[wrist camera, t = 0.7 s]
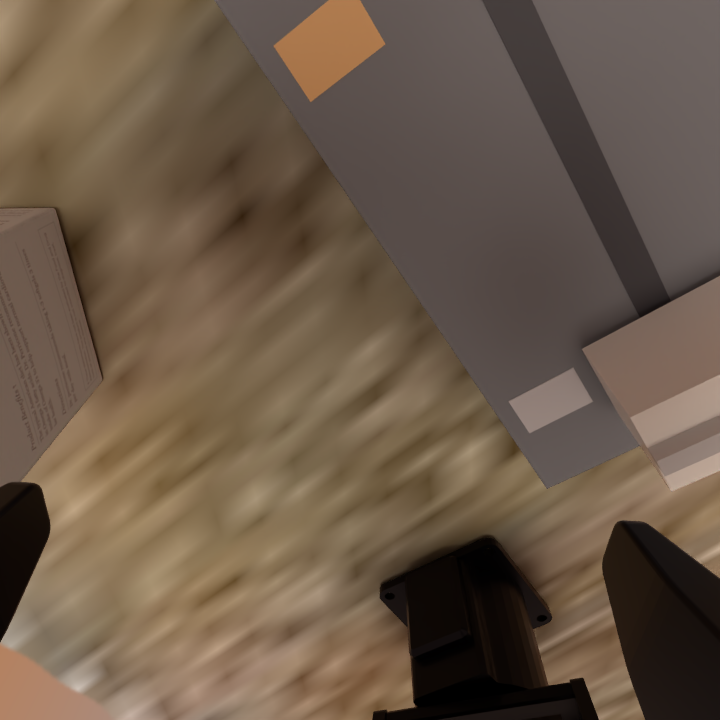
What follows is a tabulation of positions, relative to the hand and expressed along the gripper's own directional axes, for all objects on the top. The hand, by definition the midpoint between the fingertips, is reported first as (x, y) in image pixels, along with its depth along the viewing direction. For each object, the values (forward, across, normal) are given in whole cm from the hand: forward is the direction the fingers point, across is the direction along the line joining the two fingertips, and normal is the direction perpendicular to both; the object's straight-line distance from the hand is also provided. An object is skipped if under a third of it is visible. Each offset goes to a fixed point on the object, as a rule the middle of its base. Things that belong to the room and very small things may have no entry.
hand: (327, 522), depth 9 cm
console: (+13, -6, -4) cm, 15 cm away
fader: (+10, -10, +1) cm, 14 cm away
